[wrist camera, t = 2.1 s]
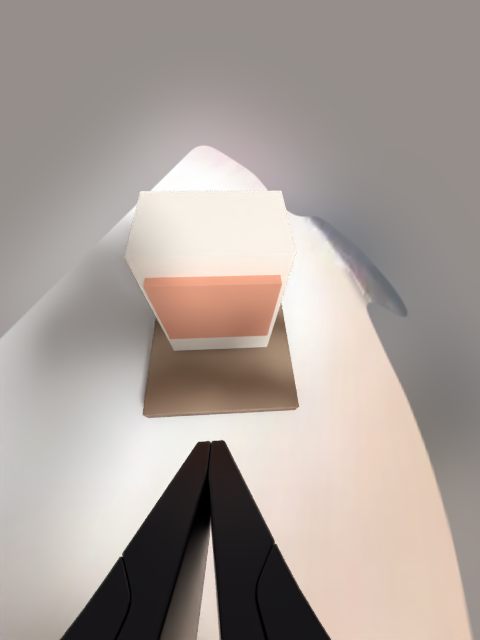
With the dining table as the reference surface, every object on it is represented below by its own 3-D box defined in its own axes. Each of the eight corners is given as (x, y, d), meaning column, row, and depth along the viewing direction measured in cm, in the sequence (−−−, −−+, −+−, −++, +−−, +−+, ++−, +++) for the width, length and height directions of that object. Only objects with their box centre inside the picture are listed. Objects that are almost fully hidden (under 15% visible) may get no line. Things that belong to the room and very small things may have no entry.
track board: (294, 409, 20) (299, 406, 19) (148, 417, 19) (142, 414, 18) (271, 266, 28) (273, 256, 27) (167, 268, 27) (164, 258, 26)
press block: (267, 353, 21) (298, 263, 11) (173, 357, 20) (121, 266, 11) (261, 299, 23) (281, 190, 14) (178, 302, 23) (140, 191, 13)
